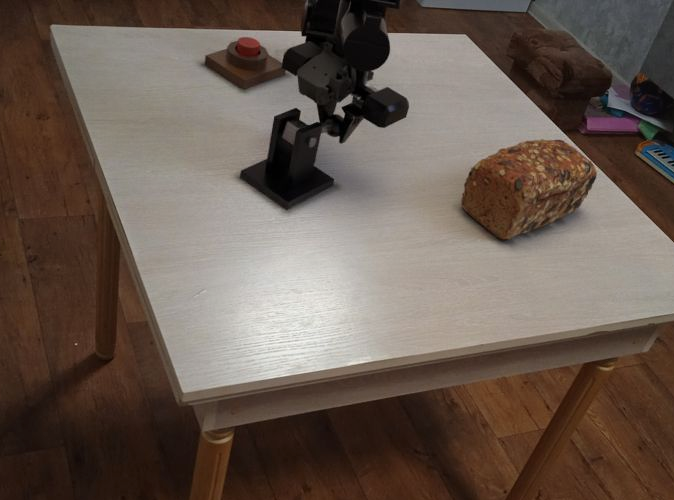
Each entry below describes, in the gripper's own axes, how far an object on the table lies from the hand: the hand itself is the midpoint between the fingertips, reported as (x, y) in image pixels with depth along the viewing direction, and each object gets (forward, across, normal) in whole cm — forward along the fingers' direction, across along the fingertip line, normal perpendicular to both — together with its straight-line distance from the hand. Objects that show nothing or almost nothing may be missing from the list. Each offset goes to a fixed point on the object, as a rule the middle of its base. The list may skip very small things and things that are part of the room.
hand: (332, 136), depth 120 cm
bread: (+5, +25, +16) cm, 30 cm away
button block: (+4, -26, +9) cm, 28 cm away
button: (+1, -26, +9) cm, 27 cm away
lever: (-1, 0, -5) cm, 5 cm away
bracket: (+4, 0, -9) cm, 10 cm away
